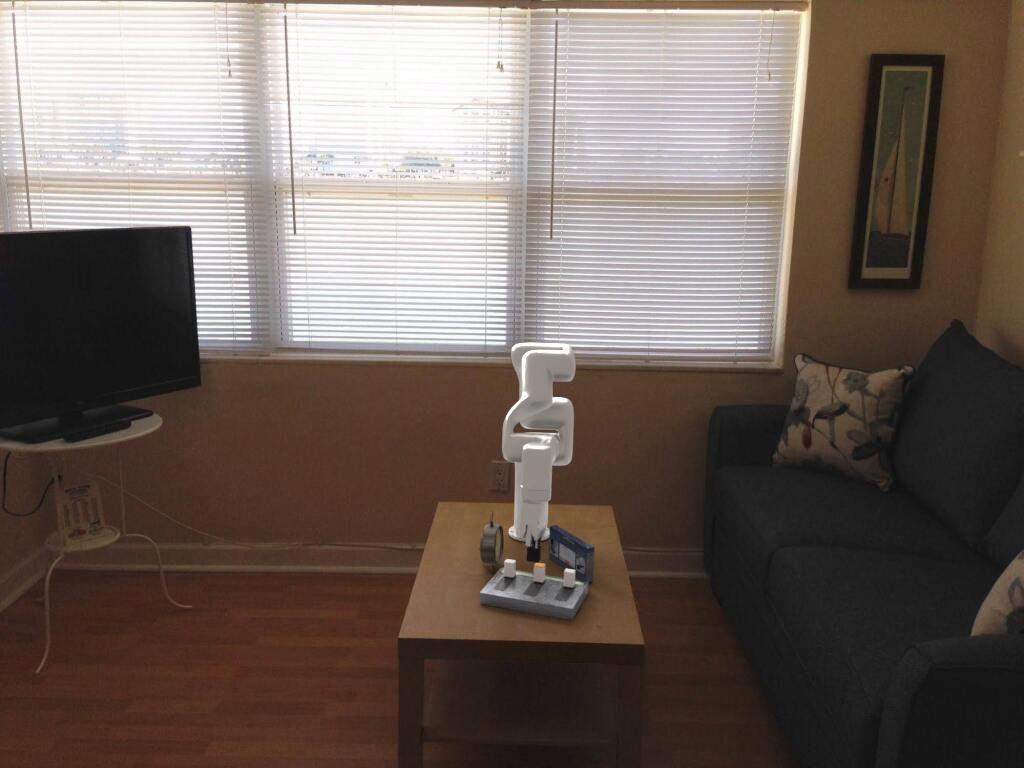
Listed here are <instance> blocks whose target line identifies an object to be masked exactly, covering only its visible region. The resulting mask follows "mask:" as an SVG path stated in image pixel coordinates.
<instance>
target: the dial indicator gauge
mask: <svg viewBox="0 0 1024 768" xmlns="http://www.w3.org/2000/svg"><path fill="white" fill-rule="evenodd" d="M493 520H494V511H493V510H491V512H490V519H489V523H490V524H486V525H484V526H483V528H482V530H481V534H480V541H479V549H478V550H479V555H480V559H481V562H482V563H483V564H482V566H484V565H485V566H486V565H487V566H490V567H489V568H490V569H489V573H490V574H492V573H493V569H494V566H500V564H501V563H502V560H503V554H504V546H505V545H504V543H505V541H504V539H505V538H504V537H505V535H504V530H503V529H504V528H503V526H502V525H501V524H494V521H493Z"/></svg>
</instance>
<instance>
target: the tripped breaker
mask: <svg viewBox="0 0 1024 768" xmlns="http://www.w3.org/2000/svg"><path fill="white" fill-rule="evenodd" d="M533 573H534V577H533V581H537V582H543V581H544V580H545V575H546V563H542V562H538V563H536V562H534V564H533Z"/></svg>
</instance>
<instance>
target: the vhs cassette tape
mask: <svg viewBox="0 0 1024 768" xmlns="http://www.w3.org/2000/svg"><path fill="white" fill-rule="evenodd" d="M549 529H550V530H549V533H550V535H549V538H548V544H549V545H548V559H549V560H550V561H551V562H553V563H554V564H556V565H557V566H559V567H560V568H562V569H563V570H565V569H566V568H567V569H573V570H575V578H577V580H578V579H579V581H585V582H589V583H593V582H594V570H595V568H594V567H595V547H594V546H592V545H591V544H590V543H587V542H586V541H584V540H583V539H581V538H579V537H578V536H575V535H574V534H573V533H572V532H569V531H567V530H566V529H564V528H562V527H560V526H559V525H557V524H555V525H550V526H549Z"/></svg>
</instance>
